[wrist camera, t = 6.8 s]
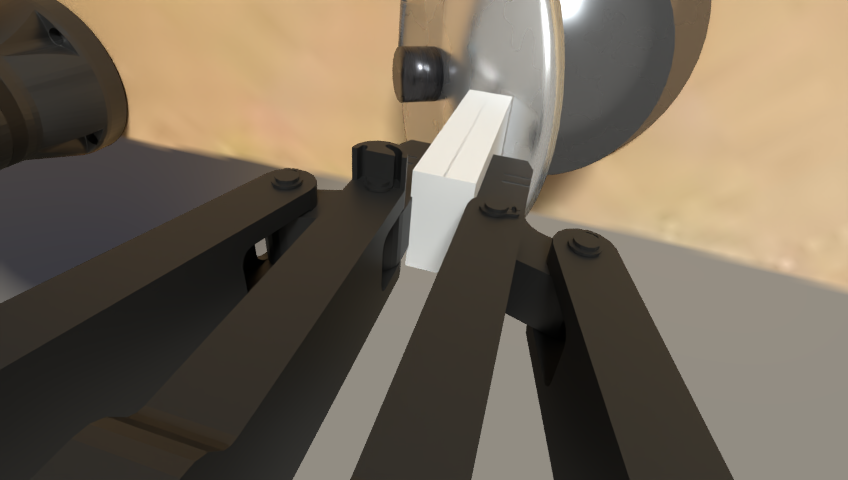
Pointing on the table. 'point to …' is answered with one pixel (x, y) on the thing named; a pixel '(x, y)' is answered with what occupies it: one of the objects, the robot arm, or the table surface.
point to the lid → (484, 70)
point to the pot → (622, 71)
